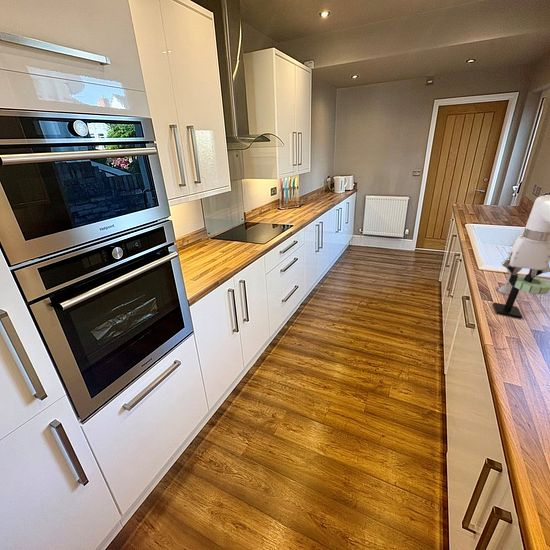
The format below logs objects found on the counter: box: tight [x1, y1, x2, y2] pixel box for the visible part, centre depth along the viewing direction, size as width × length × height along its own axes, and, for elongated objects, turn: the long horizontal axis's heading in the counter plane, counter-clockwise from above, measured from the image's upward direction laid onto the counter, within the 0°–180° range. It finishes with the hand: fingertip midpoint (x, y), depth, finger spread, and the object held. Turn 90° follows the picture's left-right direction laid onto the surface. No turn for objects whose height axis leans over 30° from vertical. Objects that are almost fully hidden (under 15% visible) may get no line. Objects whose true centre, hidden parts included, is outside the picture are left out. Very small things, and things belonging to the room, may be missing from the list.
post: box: [492, 286, 523, 319], centre depth 115 cm, size 8×8×13 cm
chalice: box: [497, 251, 523, 295], centre depth 129 cm, size 7×7×18 cm
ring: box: [514, 274, 550, 295], centre depth 100 cm, size 10×10×3 cm
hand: (518, 284), depth 102 cm, fingers closed on ring, 3 cm apart
